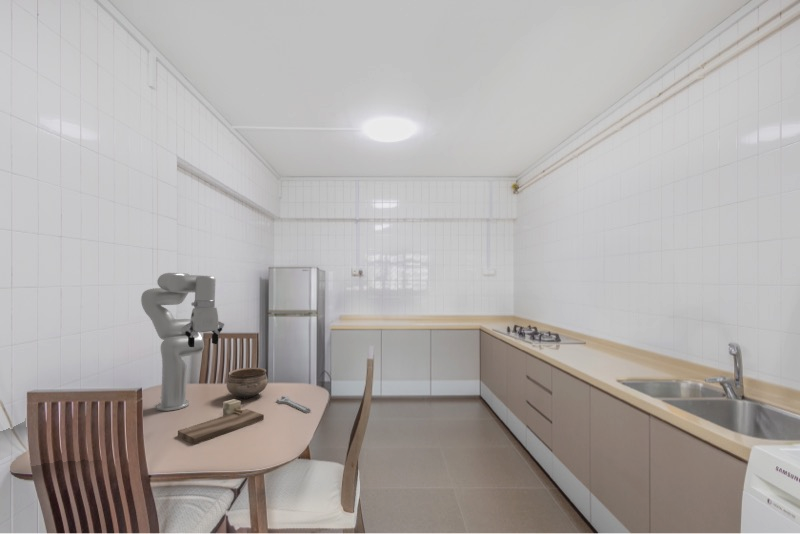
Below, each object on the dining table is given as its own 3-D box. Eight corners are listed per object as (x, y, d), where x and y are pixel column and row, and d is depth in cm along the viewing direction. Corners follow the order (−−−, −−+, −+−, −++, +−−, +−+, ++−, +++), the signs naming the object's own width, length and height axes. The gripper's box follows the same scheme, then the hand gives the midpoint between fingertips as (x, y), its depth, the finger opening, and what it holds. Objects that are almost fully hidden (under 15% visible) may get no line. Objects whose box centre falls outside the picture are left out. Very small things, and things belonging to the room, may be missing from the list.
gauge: (222, 416, 152) (223, 402, 153) (233, 412, 157) (234, 399, 157) (235, 421, 147) (236, 406, 147) (246, 417, 151) (247, 403, 152)
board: (177, 436, 132) (177, 430, 132) (246, 413, 156) (246, 408, 156) (194, 444, 126) (194, 438, 126) (263, 419, 149) (263, 414, 149)
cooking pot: (274, 399, 175) (274, 374, 175) (232, 407, 163) (233, 380, 164) (259, 387, 195) (260, 364, 195) (221, 393, 183) (222, 369, 184)
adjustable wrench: (312, 413, 159) (312, 409, 159) (298, 416, 154) (298, 412, 154) (286, 398, 177) (286, 395, 177) (274, 401, 173) (274, 397, 173)
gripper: (187, 306, 143) (186, 349, 142) (229, 304, 157) (227, 343, 157) (178, 305, 147) (177, 347, 146) (219, 303, 161) (218, 341, 161)
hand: (203, 345), depth 151 cm, fingers open, 9 cm apart
